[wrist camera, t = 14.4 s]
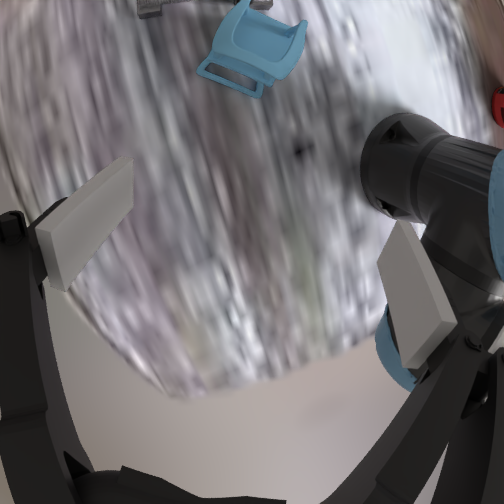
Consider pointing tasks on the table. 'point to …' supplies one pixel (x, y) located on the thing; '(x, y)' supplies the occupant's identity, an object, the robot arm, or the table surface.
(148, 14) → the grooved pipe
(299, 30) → the chair
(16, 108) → the table surface
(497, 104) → the canned food
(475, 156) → the robot arm
